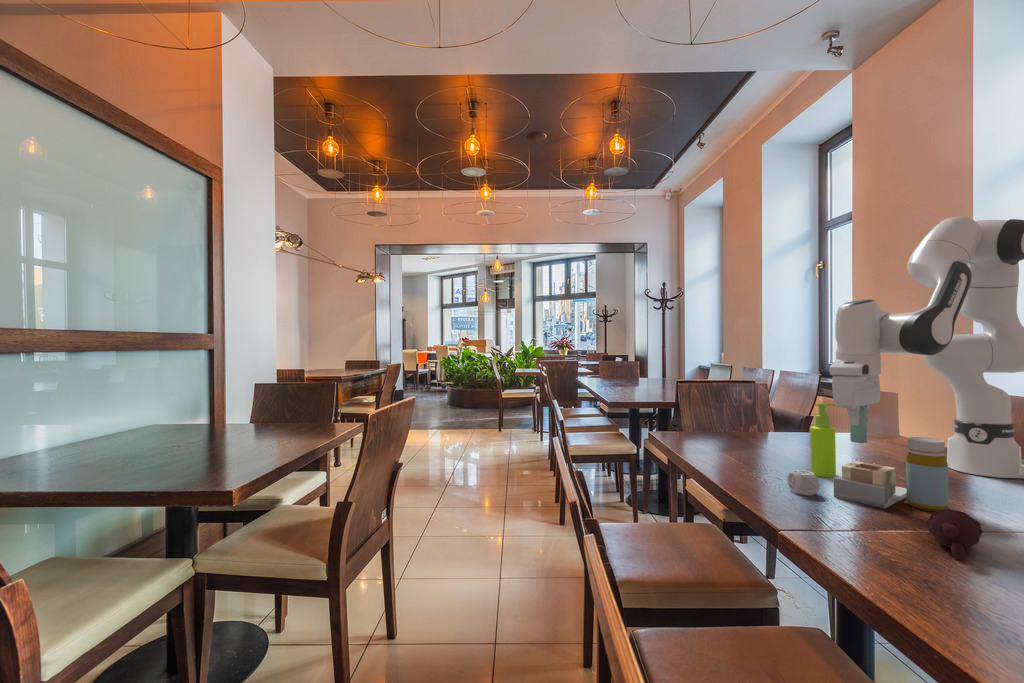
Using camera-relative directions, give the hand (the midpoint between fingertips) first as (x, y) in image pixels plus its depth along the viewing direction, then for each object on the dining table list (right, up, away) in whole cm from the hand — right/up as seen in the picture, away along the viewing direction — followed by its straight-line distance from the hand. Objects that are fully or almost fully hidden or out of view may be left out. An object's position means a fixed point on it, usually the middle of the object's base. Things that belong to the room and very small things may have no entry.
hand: (858, 423), depth 114 cm
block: (+1, -16, -2) cm, 16 cm away
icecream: (-5, -17, -29) cm, 34 cm away
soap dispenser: (+4, -18, +18) cm, 26 cm away
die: (-12, -18, +3) cm, 21 cm away
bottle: (+9, -17, -8) cm, 21 cm away
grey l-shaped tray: (+3, -17, 0) cm, 17 cm away
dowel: (0, -4, 0) cm, 4 cm away
